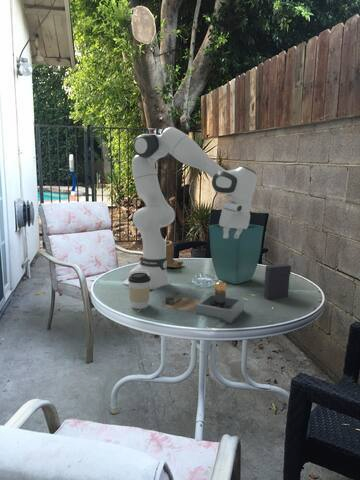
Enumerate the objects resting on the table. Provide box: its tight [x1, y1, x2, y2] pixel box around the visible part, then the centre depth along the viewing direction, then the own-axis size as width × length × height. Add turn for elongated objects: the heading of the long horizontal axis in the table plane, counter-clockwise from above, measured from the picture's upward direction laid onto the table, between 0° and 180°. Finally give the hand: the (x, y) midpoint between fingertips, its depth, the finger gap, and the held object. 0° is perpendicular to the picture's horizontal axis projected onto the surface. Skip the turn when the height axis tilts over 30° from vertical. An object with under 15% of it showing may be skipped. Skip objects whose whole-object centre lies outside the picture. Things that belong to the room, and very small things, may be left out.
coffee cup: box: [127, 273, 151, 310], centre depth 167 cm, size 9×9×15 cm
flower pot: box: [208, 223, 264, 285], centre depth 209 cm, size 20×20×28 cm
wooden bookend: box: [165, 240, 184, 268], centre depth 234 cm, size 15×12×15 cm
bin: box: [194, 293, 245, 324], centre depth 164 cm, size 15×15×5 cm
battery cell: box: [213, 279, 227, 309], centre depth 163 cm, size 4×4×13 cm
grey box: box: [263, 263, 292, 301], centre depth 184 cm, size 11×4×15 cm, turn 111°
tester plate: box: [161, 291, 202, 313], centre depth 171 cm, size 14×14×4 cm
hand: (230, 238), depth 173 cm, fingers open, 8 cm apart
